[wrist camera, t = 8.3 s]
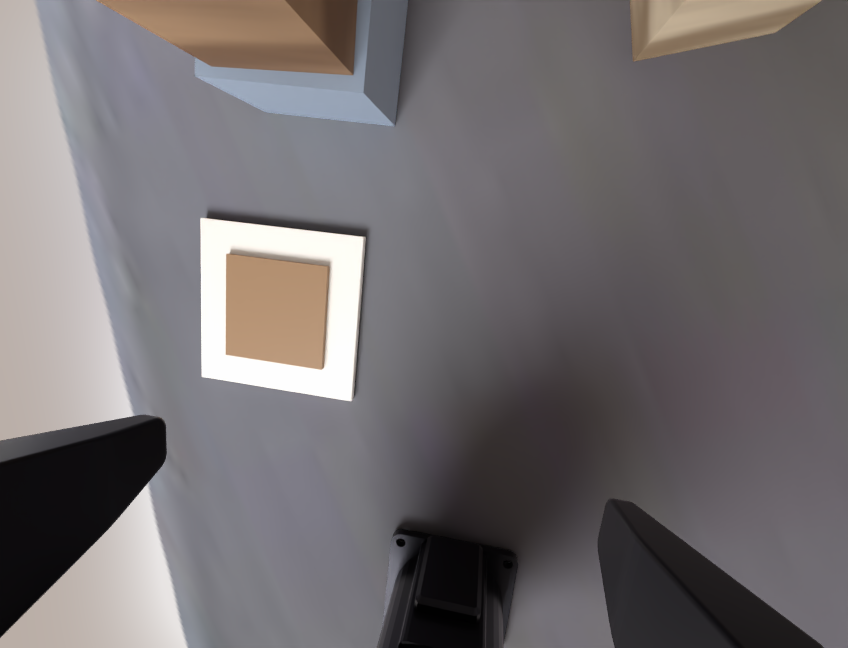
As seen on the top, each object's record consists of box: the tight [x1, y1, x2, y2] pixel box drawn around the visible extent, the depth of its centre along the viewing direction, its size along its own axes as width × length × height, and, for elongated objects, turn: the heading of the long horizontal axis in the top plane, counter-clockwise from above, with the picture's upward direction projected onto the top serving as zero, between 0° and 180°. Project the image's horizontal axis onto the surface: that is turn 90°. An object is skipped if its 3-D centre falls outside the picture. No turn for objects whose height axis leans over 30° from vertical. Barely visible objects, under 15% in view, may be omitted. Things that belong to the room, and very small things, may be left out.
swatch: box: [201, 218, 366, 401], centre depth 21 cm, size 8×8×1 cm
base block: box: [195, 0, 408, 126], centre depth 17 cm, size 6×6×5 cm
